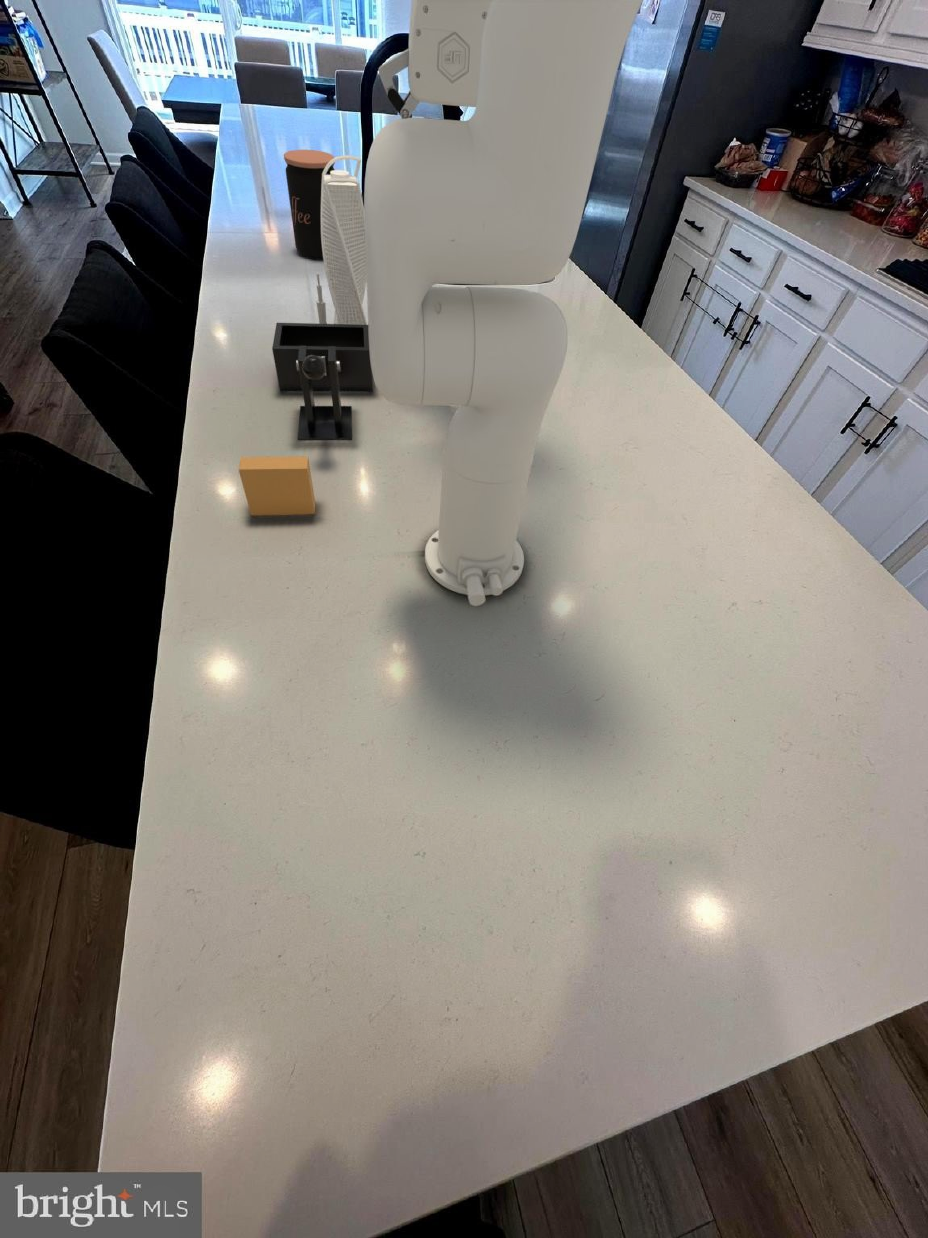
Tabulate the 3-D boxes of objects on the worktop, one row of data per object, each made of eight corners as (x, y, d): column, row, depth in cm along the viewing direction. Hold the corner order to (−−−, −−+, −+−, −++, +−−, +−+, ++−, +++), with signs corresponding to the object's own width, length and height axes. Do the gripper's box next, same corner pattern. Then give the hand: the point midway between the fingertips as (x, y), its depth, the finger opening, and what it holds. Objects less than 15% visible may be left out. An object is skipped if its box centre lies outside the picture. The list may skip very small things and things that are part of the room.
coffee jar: (291, 245, 133) (277, 149, 120) (334, 242, 137) (326, 148, 123) (302, 262, 128) (290, 163, 114) (348, 259, 131) (341, 162, 117)
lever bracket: (352, 445, 85) (346, 369, 76) (298, 445, 84) (285, 368, 75) (352, 412, 90) (346, 338, 81) (301, 412, 89) (289, 337, 80)
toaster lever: (326, 381, 72) (323, 355, 70) (302, 380, 71) (299, 354, 70) (330, 376, 81) (329, 353, 80) (309, 376, 81) (307, 353, 80)
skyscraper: (349, 334, 107) (336, 148, 86) (382, 348, 105) (376, 160, 83) (318, 349, 103) (295, 156, 81) (352, 364, 100) (338, 169, 78)
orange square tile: (315, 519, 74) (307, 468, 68) (252, 520, 73) (238, 469, 66) (316, 506, 75) (308, 456, 69) (254, 508, 74) (240, 456, 68)
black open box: (373, 396, 94) (370, 350, 88) (280, 395, 92) (272, 348, 86) (371, 369, 100) (369, 324, 94) (284, 368, 97) (276, 322, 91)
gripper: (376, -44, 58) (382, 163, 71) (537, -25, 61) (513, 172, 74) (374, -47, 63) (379, 148, 76) (524, -29, 65) (504, 157, 78)
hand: (445, 160), depth 75 cm, fingers open, 9 cm apart
